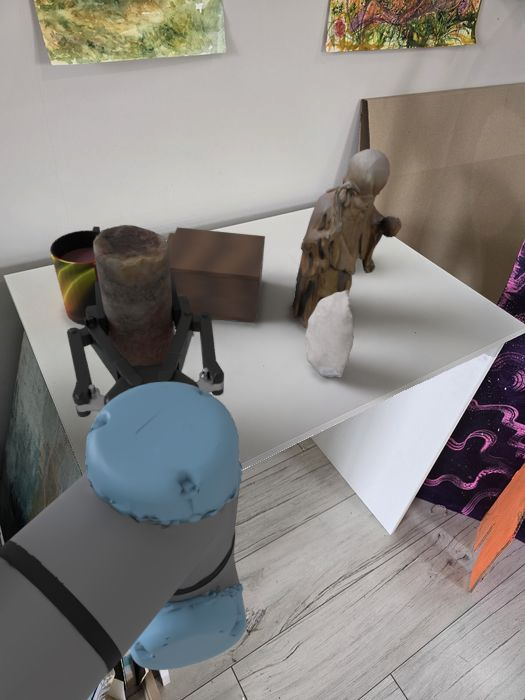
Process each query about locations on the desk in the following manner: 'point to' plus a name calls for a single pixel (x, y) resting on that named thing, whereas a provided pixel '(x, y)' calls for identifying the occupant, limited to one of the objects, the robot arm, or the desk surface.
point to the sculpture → (343, 233)
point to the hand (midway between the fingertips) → (135, 287)
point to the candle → (136, 292)
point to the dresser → (218, 272)
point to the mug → (76, 271)
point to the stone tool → (330, 335)
